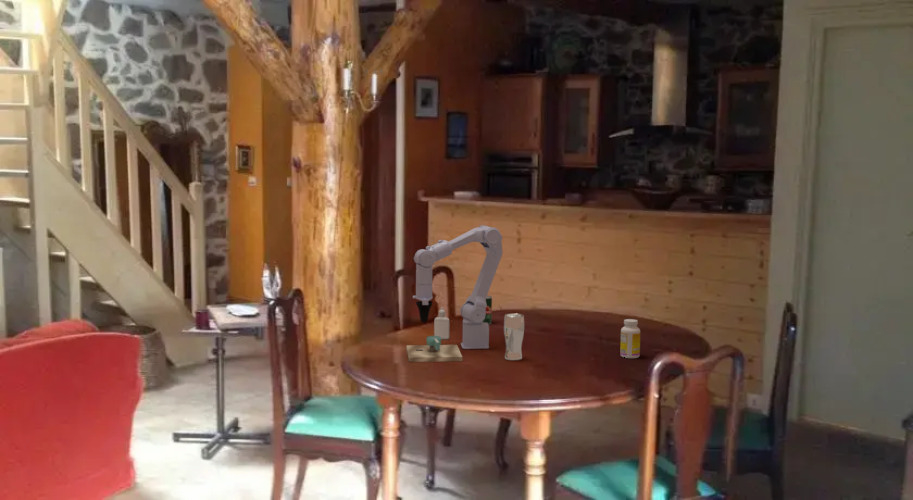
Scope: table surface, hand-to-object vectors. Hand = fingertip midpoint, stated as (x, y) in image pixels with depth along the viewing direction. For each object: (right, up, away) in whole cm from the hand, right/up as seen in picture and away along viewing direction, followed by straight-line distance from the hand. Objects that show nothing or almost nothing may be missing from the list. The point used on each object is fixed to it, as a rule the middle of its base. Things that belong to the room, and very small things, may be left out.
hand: (423, 321), depth 308 cm
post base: (+4, -11, -5) cm, 13 cm away
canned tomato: (+22, -5, +50) cm, 55 cm away
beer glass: (+31, -12, -8) cm, 34 cm away
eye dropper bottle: (+6, -8, +21) cm, 23 cm away
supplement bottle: (+72, -12, -4) cm, 73 cm away
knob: (+4, -8, -9) cm, 12 cm away
